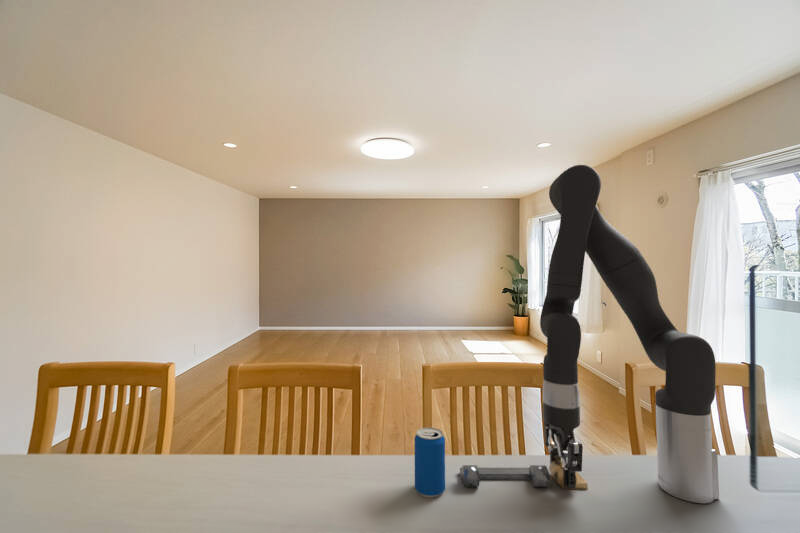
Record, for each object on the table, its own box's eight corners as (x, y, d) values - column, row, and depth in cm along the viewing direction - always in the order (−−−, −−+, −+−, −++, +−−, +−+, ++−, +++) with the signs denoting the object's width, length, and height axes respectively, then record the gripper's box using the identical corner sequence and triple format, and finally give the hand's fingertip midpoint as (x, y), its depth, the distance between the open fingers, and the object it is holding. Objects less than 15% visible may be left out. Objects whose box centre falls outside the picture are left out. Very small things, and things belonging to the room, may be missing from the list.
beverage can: (444, 501, 71) (443, 440, 72) (412, 497, 72) (412, 437, 73) (446, 483, 77) (446, 427, 78) (417, 480, 79) (417, 425, 79)
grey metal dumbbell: (537, 473, 82) (537, 455, 82) (550, 490, 75) (549, 471, 75) (459, 472, 82) (459, 455, 82) (465, 490, 75) (465, 471, 75)
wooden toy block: (549, 477, 80) (549, 459, 80) (577, 477, 80) (576, 459, 80) (558, 489, 76) (557, 470, 76) (587, 489, 76) (587, 470, 76)
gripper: (595, 413, 72) (597, 498, 71) (562, 391, 86) (564, 462, 85) (558, 412, 72) (560, 498, 71) (532, 391, 86) (533, 462, 85)
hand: (562, 478), depth 78 cm, fingers open, 6 cm apart
